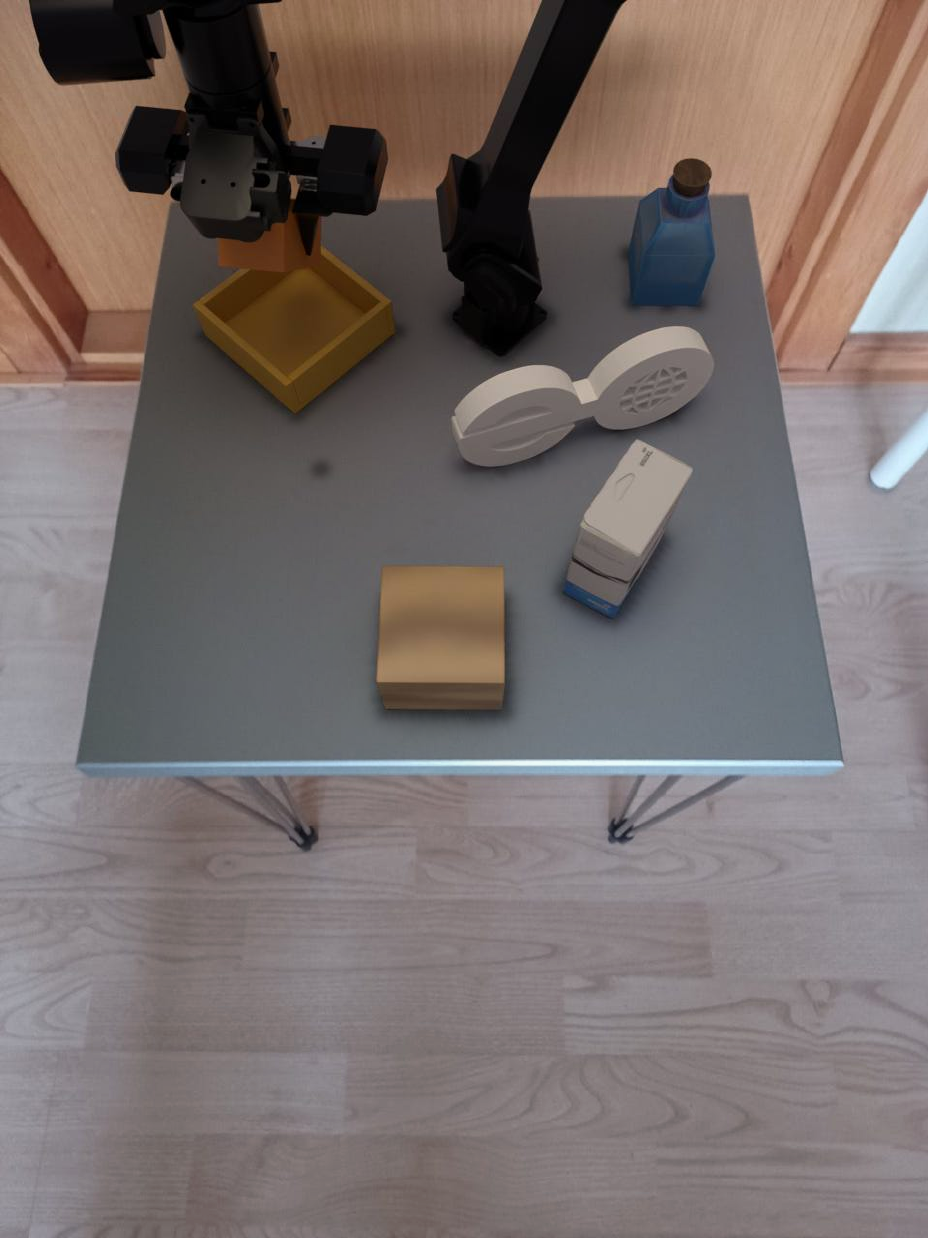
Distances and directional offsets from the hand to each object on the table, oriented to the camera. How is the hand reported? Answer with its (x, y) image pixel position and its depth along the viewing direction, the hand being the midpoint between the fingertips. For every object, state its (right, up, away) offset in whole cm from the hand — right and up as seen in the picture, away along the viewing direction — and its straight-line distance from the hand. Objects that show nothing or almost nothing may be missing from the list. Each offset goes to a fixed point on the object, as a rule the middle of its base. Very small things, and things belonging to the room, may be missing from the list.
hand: (278, 248), depth 70 cm
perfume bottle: (+34, +2, +12) cm, 36 cm away
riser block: (+14, -33, -2) cm, 36 cm away
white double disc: (+25, -14, +6) cm, 29 cm away
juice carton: (+1, +3, +3) cm, 4 cm away
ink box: (+27, -26, +1) cm, 38 cm away
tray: (0, -4, +10) cm, 10 cm away
